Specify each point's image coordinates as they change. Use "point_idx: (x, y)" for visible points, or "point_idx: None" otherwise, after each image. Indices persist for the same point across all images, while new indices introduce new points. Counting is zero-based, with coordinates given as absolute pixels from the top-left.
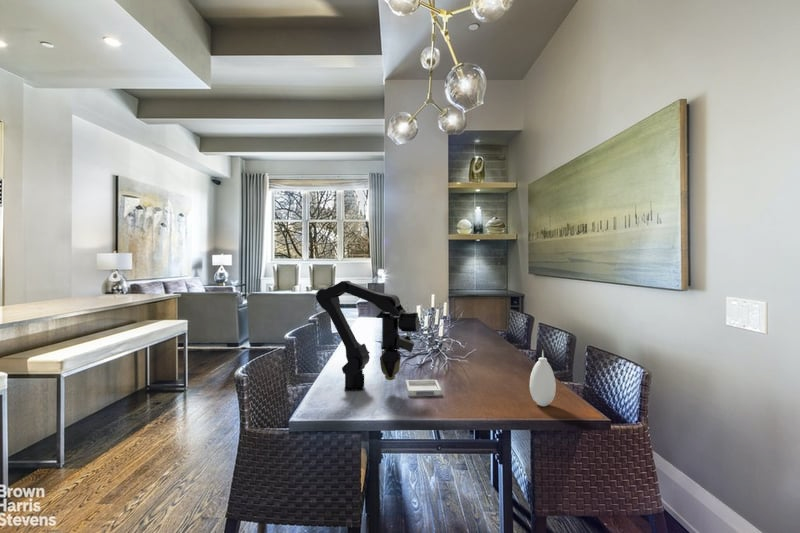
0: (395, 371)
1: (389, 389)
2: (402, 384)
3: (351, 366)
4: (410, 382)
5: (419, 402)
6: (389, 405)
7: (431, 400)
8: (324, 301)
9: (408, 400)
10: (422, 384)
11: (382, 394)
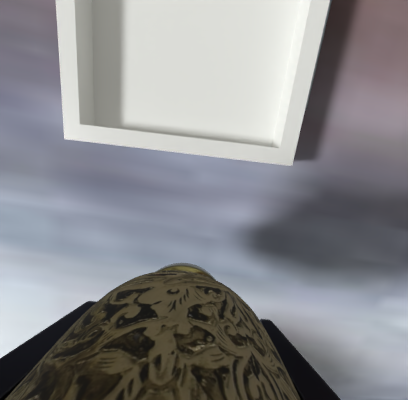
0: (263, 328)
1: (149, 240)
2: (64, 155)
3: None
4: (85, 106)
5: (389, 115)
6: (368, 271)
7: (388, 24)
8: None
9: (337, 172)
10: (90, 9)
11: (218, 281)
